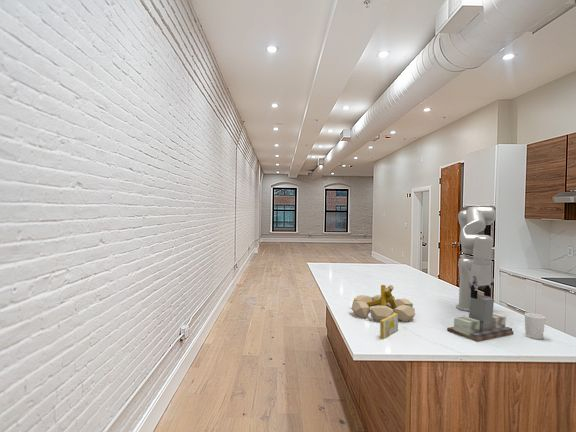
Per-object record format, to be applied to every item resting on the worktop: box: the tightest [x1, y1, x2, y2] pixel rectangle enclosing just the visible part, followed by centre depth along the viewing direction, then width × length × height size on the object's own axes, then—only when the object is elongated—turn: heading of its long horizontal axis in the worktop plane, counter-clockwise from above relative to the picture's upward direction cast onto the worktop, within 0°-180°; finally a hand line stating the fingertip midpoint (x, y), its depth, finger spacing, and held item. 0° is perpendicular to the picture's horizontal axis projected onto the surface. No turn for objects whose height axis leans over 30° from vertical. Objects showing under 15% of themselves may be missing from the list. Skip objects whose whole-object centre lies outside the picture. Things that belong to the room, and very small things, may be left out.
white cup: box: [524, 312, 546, 340], centre depth 168 cm, size 8×8×10 cm
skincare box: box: [468, 294, 495, 332], centre depth 172 cm, size 8×7×16 cm
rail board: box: [446, 312, 514, 343], centre depth 172 cm, size 26×16×8 cm, turn 116°
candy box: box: [379, 312, 399, 340], centre depth 167 cm, size 16×2×8 cm, turn 141°
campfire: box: [351, 284, 416, 323], centre depth 201 cm, size 35×34×17 cm
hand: (480, 297), depth 173 cm, fingers open, 9 cm apart
